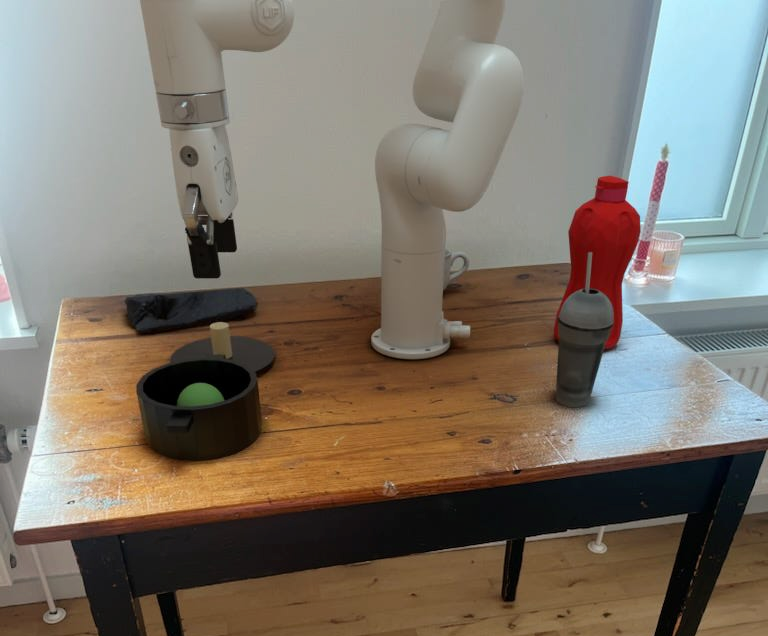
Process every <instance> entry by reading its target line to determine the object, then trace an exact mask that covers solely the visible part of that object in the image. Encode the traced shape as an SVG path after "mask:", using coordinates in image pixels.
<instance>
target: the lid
mask: <svg viewBox="0 0 768 636" xmlns="http://www.w3.org/2000/svg"><path fill="white" fill-rule="evenodd" d="M209 333H210V337H206V338H202V339H198V340H195V341H191V342H189V343H187V344H184V345H183V346H180V347H179V348H178V349H176V350H175V351H174V352H173V353H172V354H171V356H170V358H169V363H171V362H176V361H180V360H185V359H193V358H206V357H207V355H208V354H221V355H225V356H226V359H228V360H234V361H237V362H240V363H242V364H245V365H247V366H249V367H250V368H251V369H252V370H253V371H255V373H256V376H257V375H259V374H261V373H263V372H265V371H267V370H268V369H269V368H270V367H271V366H272V365H273V364H274V363H275V360H276V352H275V350H274V348H273V347H272V345H270V344H268V343H267V342H265V341H263V340H261V339H257V338H254V337H249V336H238V335H231V332H230V325H229V323H227V322H224V321H216V322H213V323H211V324H210V325H209Z"/></svg>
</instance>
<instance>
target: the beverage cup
mask: <svg viewBox="0 0 768 636" xmlns="http://www.w3.org/2000/svg"><path fill="white" fill-rule="evenodd" d="M591 263H592V253H591V252H589V253H588V261H587V273H586V285H585V289H581V290H578V291H576V292H575V293H573V294H572V295H570V296H569V297H568V298H567V299H566V301H565V302H564V304H563V305H562V308H561V311H560V314H559V316H558V319H557V320H558V334H559V341H558V348H557V349H558V351H557V363H556V365H557V366H556V381H555V390H556V391H555V392H556V396H555V400H556V402H558V403H559V404H560V405H562V406H565V407H569V408H582V407H585V406H587V405H588V404H589V401H590V398H591V395H592V393H593V391H594V386H595V382H596V380H597V379H596V378H597V375H598V372H599V369H600V365H601V362H602V357H603V354H604V350H605V349H604V347H605V344H606V340H608V337H609V335H610V332H611V328H612V327H613V325H614V320H613V317H614V311H613V307H612V304H611V302H610V300H609V299H608V297H607V296H606V295H605V294H603V293H602V292H601V291H598V290H596V289H591V288H589V287H590V275H591Z"/></svg>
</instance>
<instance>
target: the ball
mask: <svg viewBox="0 0 768 636" xmlns="http://www.w3.org/2000/svg"><path fill="white" fill-rule="evenodd" d="M221 401H225V400H224V398H223V396H222V394H221V393H220V392H219V391H218V390H217V389H216V388H215V387H213V386H212V385H209V384H206V383H195V384H192V385H189V386H188V387H186V388H185V389H184V390H183V391H182V392H181V394H180V395H179V398H178V401H177V406H188V407H193V406H202V405H210V404H214V403H218V402H221Z"/></svg>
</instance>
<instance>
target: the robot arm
mask: <svg viewBox="0 0 768 636" xmlns="http://www.w3.org/2000/svg"><path fill="white" fill-rule="evenodd" d="M439 3H440V4H439V6H438V10H437V12H436V16H435V19H434V21H433V24H432V27H431V30H430V32H429V35H428V38H427V41H426V43H425V46H424V49H423V52H422V54H421V57H420V60H419V62H418V66H417V69H416V71H415V75H414V78H413V83H412V90H411V91H412V99H413V102H414V105H415V106H416V108H417V109H418V110H419V111H420V112H421V113H422V114H424V115H425V116H427V117H428V118H432V119H433V120H434V119H435V120H437V121H442V122H448V123H452V124H451V127H450V129H449V130H448V129H443V128H440V127H436V126H431V125H424V124H420V123H403V124H400V125H397V126H395V127H393V128H391V129H389V130H388V131H387V132H386V133H385V134H384V135H383V137H382V138H381V140H380V141H379V143H378V145H377V149H376V151H375V152H376V153H375V157H374V172H375V173H374V174H375V180H376V187H377V191H378V192H377V193H378V197H379V203H380V204H379V205H380V218H381V248H380V249H381V252H380V253H381V254H380V255H381V258H380V260H381V262H380V264H381V266H380V268H381V269H380V328H378V329H376V330H375V331H374V332H372V334H371V340H370V342H371V343H370V344H371V346H372V348H373V350H375V351H376V352H378V353H379V354H381V355H384V356H387V357H390V358H394V359H400V360H423V359H430V358H434V357H437V356H440V355H442V354H444V353H445V352H446V351H448V349H450V345H451V338H458V339H470V338H471V337H470V336H471V325H464V324H463V321H462V320H453V321H451V320H448V319H445V316H444V315H445V314H444V310H443V299H444V290H443V282H444V264H445V248H446V246H447V225H446V218H445V214H444V210H445V211H447V212H448V211H449V212H453V213H455V212H456V213H459V212H461V213H462V212H465V211H468V210H471V209H472V208H474V206H476V205H477V204H478V203H479V202H480V200H481V199H482V198H483V196H484V195H485V193H486V192H487V190H488V187H489V186H490V183H491V181H492V179H493V176H494V175H495V172H496V169H497V167H498V165H499V162H500V160H501V157H502V155H503V152H504V150H505V148H506V145H507V143H508V140H509V138H510V135H511V133H512V130H513V129H514V126H515V123H516V120H517V117H518V116H519V112H520V109H521V105H522V101H523V96H524V85H525V79H524V72H523V67H522V63H521V62H520V59H519V58H518V57H517V55H516V54H515V53H514V52H513V51H512V50H511V49H509V48H508V47H505V46H503V45H500V44H495V43H496V41H497V36H498V34H499V32H500V28H501V26H502V22H503V18H504V14H505V9H506V8H505V7H506V1H505V0H440V2H439ZM139 4H140V9H141V14H142V15H141V16H142V21H143V26H144V27H143V28H144V32H145V38H146V43H147V49H148V55H149V61H150V68H151V72H152V78H153V84H154V89H155V90H154V91H155V96H156V102H157V108H158V114H159V121H160V126H161V127H162V128H164V129H168V130H169V139H170V141H169V142H170V152H171V160H172V167H173V175H174V182H175V188H176V195H177V201H178V206H179V212H180V215H181V218H182V219H183V221H184V225H185V228H184V231H185V234H186V243H187V247H188V253H189V258H190V264H191V270H192V271H191V272H192V276H193V278H195V279H220V278H221V276H222V271H221V265H220V258H219V253H236V252H237V250H238V244H237V236H236V229H235V223H234V222H235V221H234V218H233V212H234V210H235V208H236V207H237V205H238V203H239V195H238V188H237V182H236V175H235V170H234V169H235V168H234V163H233V157H232V152H231V145H230V141H229V137H228V131H227V128H226V125H229V124H230V123H231V122H230V120H231V119H230V112H229V103H228V97H227V96H228V95H227V89H226V81H225V71H224V64H223V56H222V52H223V51H239V52H240V51H241V52H250V53H263V52H264V53H265V52H268V51H272V50H274V49H277V47H279V46H280V45H281V44H282V43H284V42H285V41H286V39H287V38H288V36H289V35H290V33H291V31H292V29H293V26H294V21H295V6H294V1H293V0H139ZM204 226H205V227H204ZM205 229H206V230H205Z"/></svg>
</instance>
